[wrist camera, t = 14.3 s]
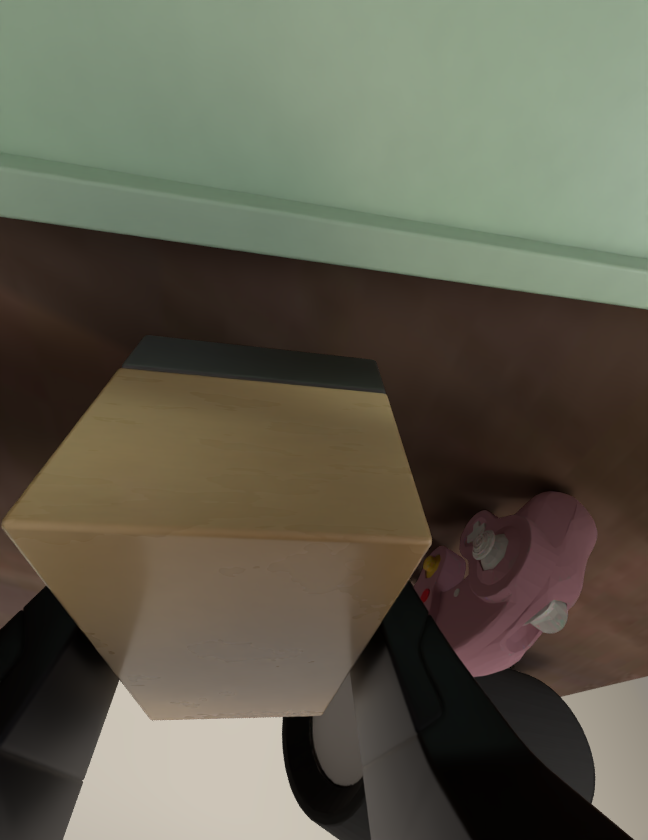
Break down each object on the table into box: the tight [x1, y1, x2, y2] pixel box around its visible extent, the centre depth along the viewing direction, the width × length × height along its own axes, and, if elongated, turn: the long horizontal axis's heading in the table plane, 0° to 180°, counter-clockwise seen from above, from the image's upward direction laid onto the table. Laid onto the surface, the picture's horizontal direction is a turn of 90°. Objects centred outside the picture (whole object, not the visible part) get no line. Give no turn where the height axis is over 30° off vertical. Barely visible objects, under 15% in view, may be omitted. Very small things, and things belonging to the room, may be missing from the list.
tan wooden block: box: [1, 335, 432, 720], centre depth 8 cm, size 5×9×4 cm, turn 172°
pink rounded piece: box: [414, 491, 597, 677], centre depth 15 cm, size 10×5×7 cm, turn 157°
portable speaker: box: [282, 668, 595, 840], centre depth 25 cm, size 26×10×10 cm, turn 48°
